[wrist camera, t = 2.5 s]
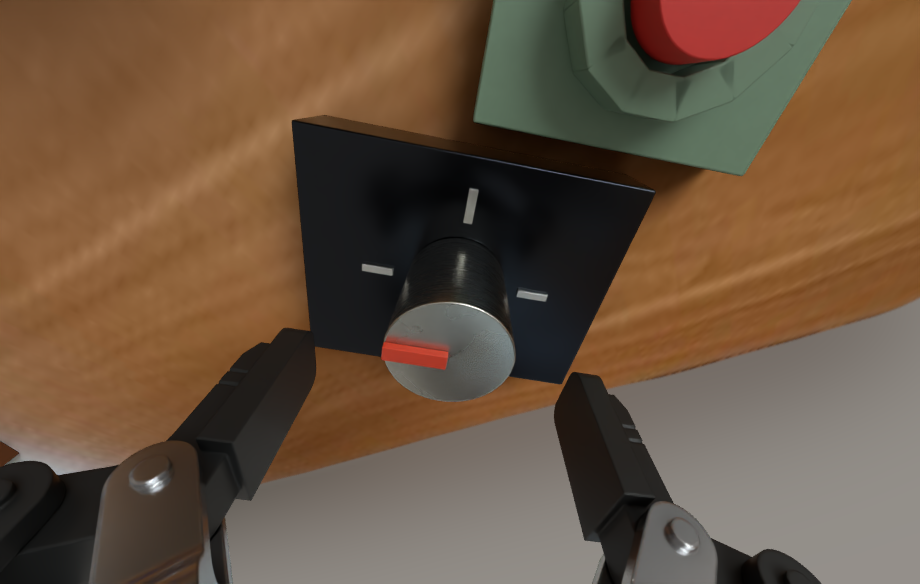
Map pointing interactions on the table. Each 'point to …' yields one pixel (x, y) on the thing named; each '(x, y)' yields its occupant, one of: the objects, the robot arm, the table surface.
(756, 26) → the button
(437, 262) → the knob
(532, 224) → the dial panel
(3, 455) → the hardcover book
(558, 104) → the button base
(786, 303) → the table surface
